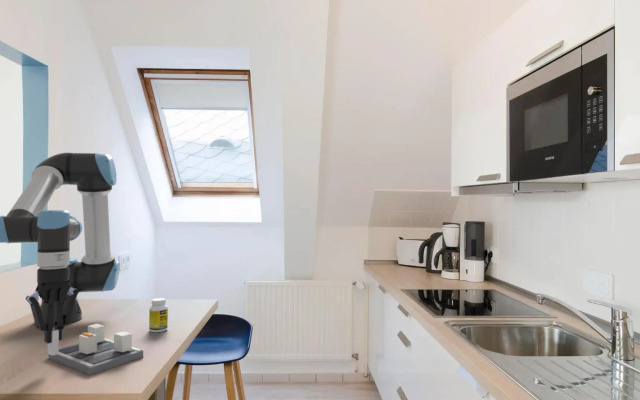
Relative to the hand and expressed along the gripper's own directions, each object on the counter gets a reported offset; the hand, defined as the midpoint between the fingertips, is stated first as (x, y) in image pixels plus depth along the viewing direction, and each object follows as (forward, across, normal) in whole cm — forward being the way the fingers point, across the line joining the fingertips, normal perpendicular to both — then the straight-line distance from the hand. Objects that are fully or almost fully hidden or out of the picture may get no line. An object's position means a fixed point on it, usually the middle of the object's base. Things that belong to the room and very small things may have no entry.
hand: (53, 353), depth 117 cm
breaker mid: (+2, +10, 0) cm, 10 cm away
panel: (+5, +12, 0) cm, 13 cm away
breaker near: (+2, +16, -7) cm, 18 cm away
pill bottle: (+5, +39, +8) cm, 40 cm away
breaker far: (+2, +16, +7) cm, 18 cm away
